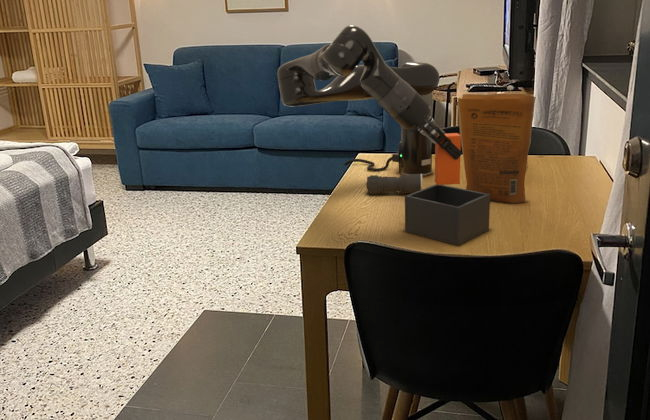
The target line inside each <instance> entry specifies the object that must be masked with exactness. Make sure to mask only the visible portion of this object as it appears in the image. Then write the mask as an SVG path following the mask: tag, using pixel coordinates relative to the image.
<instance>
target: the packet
mask: <svg viewBox="0 0 650 420" xmlns="http://www.w3.org/2000/svg"><path fill="white" fill-rule="evenodd" d="M445 136H447V137H448V138H449V139H451V141H452V143H453V144H454V145H455V146H456V147H457V148H458V149H459V150H460V151H461V150H462V145H461V135H460V133H458V132H449V133H445ZM445 140H446V139H443V141H442V142H441V145H442V143H443V142H444V141H445ZM461 152H462V151H461ZM460 181H461V156H460V157H459V158H458V159H457V160H455V159H454V158H453V157H452V156H451V155H450V154H449V153H447V152H446V151H445V150H444V149H441V147H440V146H439V145H438V144H437V143H435V144H434V183H435V184H437V185H446V186H449V185H460V184H461V183H460Z"/></svg>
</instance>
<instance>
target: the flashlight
mask: <svg viewBox="0 0 650 420" xmlns="http://www.w3.org/2000/svg"><path fill="white" fill-rule="evenodd" d="M365 187H366V190H367V191H366V192H367V194H370V195H378V194H382V193H386V194H387V193H397V192H399V193H400V194H412V193H414V192H417V191H420V190H422V189H423V176H422V174H410V175H402V174H401V175H399V176H382V175H379V176H378V175H377V174H374V175H369V176H367V177H366V184H365Z"/></svg>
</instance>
